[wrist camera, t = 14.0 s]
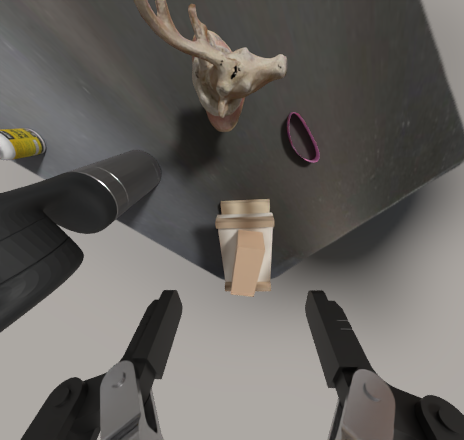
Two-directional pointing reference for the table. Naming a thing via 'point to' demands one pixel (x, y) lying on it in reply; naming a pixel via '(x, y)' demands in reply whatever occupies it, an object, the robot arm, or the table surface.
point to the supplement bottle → (20, 143)
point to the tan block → (247, 262)
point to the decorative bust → (215, 65)
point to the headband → (309, 134)
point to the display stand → (250, 219)
